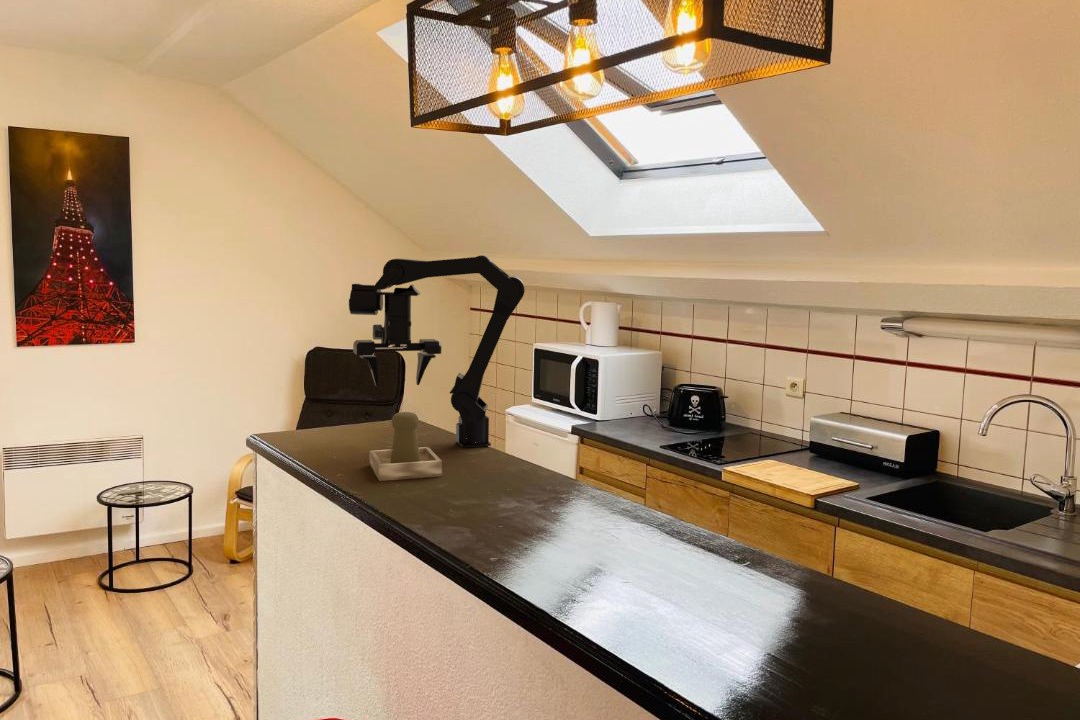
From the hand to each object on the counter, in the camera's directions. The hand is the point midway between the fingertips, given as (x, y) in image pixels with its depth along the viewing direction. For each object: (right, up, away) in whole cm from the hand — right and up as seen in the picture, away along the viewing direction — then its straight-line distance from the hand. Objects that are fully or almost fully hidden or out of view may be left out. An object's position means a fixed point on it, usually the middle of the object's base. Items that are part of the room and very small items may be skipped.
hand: (397, 385), depth 187 cm
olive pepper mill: (+5, -16, -21) cm, 27 cm away
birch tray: (+5, -16, -21) cm, 27 cm away
